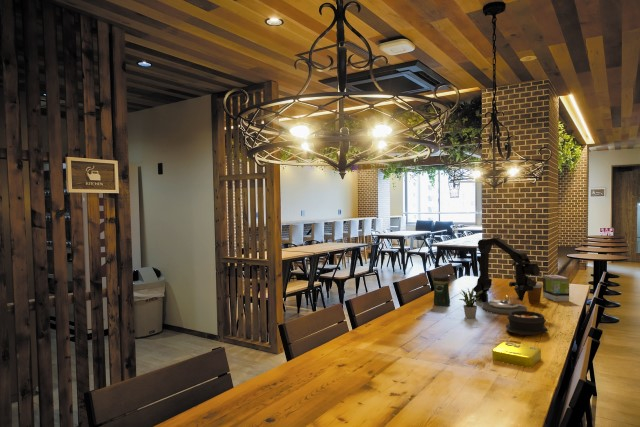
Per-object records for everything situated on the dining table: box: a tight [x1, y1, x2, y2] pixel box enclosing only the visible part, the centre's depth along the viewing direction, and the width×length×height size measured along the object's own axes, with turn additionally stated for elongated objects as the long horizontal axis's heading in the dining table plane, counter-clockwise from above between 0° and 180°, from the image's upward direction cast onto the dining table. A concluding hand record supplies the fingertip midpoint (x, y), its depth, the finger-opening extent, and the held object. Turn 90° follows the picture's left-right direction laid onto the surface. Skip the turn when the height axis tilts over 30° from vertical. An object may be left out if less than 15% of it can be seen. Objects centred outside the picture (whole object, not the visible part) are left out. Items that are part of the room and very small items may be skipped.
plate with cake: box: [489, 295, 523, 309], centre depth 256 cm, size 19×16×5 cm
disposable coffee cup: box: [526, 281, 543, 304], centre depth 274 cm, size 10×10×12 cm
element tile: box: [491, 341, 542, 368], centre depth 174 cm, size 15×15×5 cm
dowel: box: [504, 294, 510, 301], centre depth 264 cm, size 2×2×4 cm
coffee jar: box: [432, 274, 451, 307], centre depth 272 cm, size 10×8×19 cm
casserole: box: [505, 310, 549, 336], centre depth 211 cm, size 25×19×8 cm
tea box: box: [542, 274, 570, 302], centre depth 282 cm, size 15×10×15 cm
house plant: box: [458, 288, 483, 319], centre depth 239 cm, size 14×14×16 cm
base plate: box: [481, 301, 528, 316], centre depth 256 cm, size 24×24×2 cm
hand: (521, 300), depth 255 cm, fingers closed
